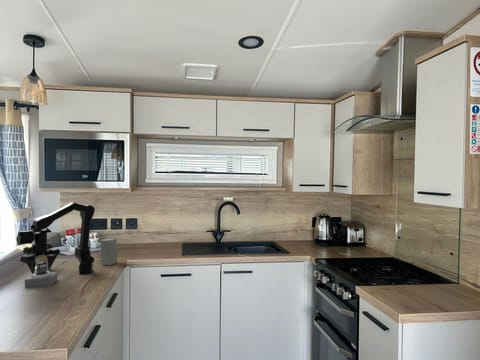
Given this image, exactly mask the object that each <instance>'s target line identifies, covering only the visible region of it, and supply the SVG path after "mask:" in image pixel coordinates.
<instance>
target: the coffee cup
mask: <svg viewBox="0 0 480 360" xmlns="http://www.w3.org/2000/svg"><path fill="white" fill-rule="evenodd" d="M52 248H54V246H53V245H52V243H49V245H47V250H48V249H52ZM43 255H44V254H43ZM39 256H40V255H39ZM38 262H46V271H50V269H48V259H47V257H46V256H42V257H39V258H36V263H38Z"/></svg>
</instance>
